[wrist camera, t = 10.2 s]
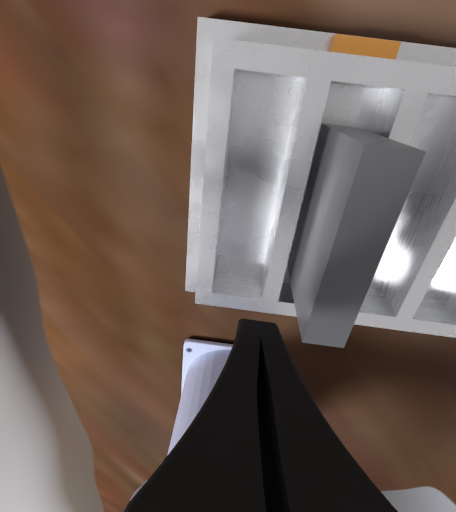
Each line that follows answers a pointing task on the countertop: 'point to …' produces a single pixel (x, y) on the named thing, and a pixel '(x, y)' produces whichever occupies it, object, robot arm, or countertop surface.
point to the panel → (346, 227)
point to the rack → (301, 157)
